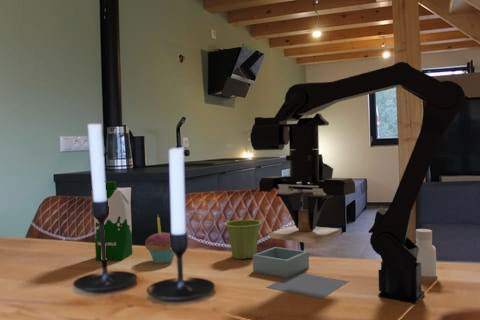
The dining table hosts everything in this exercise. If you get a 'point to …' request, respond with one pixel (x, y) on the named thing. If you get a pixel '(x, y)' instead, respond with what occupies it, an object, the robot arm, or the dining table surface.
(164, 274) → the dining table surface
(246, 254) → the plant pot
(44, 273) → the dining table surface
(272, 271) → the open box
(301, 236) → the lid
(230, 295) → the dining table surface
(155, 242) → the cupcake
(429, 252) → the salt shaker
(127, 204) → the milk carton
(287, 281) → the mat
